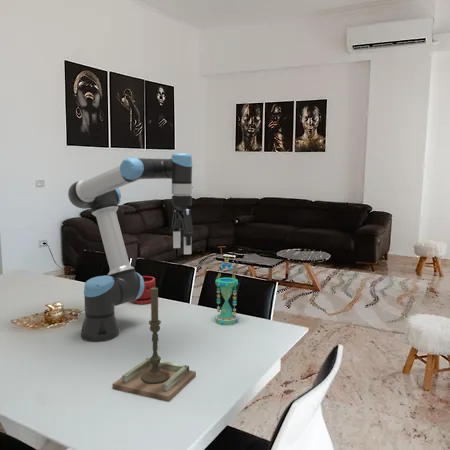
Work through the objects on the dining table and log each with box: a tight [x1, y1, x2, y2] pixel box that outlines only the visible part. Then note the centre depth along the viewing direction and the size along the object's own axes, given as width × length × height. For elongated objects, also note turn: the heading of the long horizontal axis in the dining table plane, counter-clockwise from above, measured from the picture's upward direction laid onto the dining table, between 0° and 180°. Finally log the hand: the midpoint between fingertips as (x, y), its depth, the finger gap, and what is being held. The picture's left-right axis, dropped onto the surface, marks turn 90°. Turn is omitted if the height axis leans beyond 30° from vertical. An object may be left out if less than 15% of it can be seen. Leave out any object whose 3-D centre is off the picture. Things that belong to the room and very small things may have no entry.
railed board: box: [111, 357, 197, 402], centre depth 146 cm, size 20×18×4 cm
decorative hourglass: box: [214, 255, 239, 326], centre depth 203 cm, size 11×11×30 cm
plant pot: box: [132, 275, 156, 305], centre depth 232 cm, size 13×13×12 cm
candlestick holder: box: [141, 285, 170, 384], centre depth 144 cm, size 9×9×30 cm
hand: (182, 251), depth 174 cm, fingers open, 13 cm apart
